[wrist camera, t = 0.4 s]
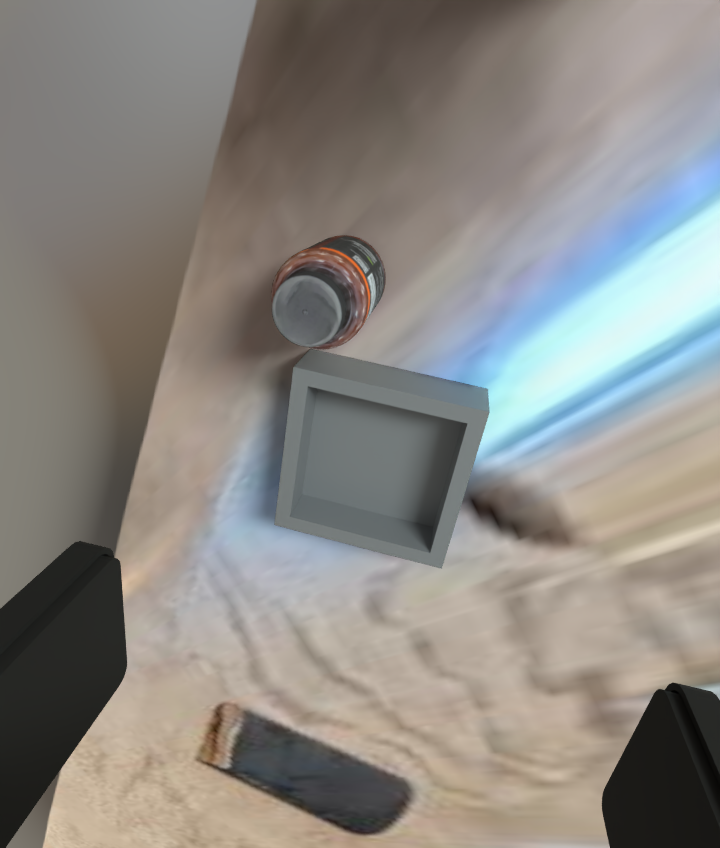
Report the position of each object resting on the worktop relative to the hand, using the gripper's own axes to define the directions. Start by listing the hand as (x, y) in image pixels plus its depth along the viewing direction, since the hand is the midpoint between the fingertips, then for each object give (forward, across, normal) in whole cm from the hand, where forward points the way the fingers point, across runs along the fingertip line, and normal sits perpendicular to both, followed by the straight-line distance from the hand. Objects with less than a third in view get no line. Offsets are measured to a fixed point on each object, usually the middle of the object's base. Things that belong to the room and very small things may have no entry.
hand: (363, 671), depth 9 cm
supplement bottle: (+33, +7, -1) cm, 34 cm away
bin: (+33, +3, +12) cm, 35 cm away
